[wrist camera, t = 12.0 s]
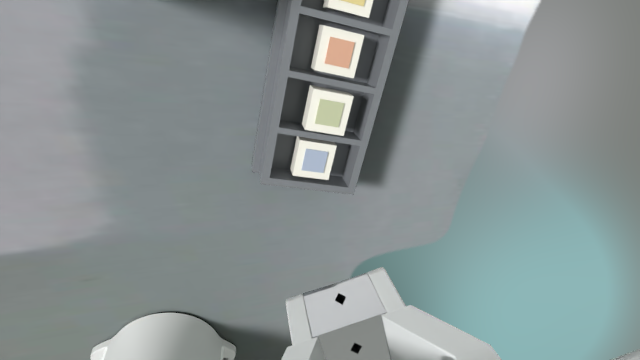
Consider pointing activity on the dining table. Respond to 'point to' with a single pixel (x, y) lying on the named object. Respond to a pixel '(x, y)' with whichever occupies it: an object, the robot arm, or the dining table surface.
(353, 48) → the key
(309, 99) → the key
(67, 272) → the dining table surface
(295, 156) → the white and blue block
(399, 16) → the grey compartment tray
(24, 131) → the dining table surface
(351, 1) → the key
